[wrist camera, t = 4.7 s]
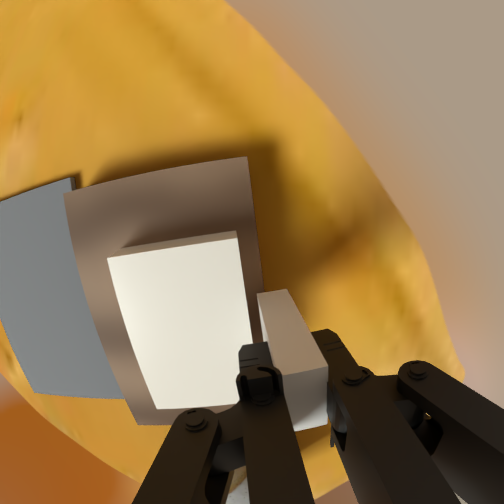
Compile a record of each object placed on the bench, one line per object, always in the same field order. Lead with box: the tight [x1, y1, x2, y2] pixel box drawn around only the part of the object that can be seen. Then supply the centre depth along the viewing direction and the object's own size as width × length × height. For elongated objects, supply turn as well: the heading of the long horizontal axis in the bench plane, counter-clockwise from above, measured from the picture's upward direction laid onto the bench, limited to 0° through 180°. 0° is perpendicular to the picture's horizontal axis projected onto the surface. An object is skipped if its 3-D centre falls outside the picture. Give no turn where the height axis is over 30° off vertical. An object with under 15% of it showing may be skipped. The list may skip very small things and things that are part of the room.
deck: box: [63, 156, 264, 425], centre depth 16 cm, size 16×10×2 cm, turn 7°
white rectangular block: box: [107, 230, 253, 409], centre depth 14 cm, size 9×6×2 cm, turn 7°
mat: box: [0, 177, 125, 399], centre depth 17 cm, size 16×10×1 cm, turn 7°
